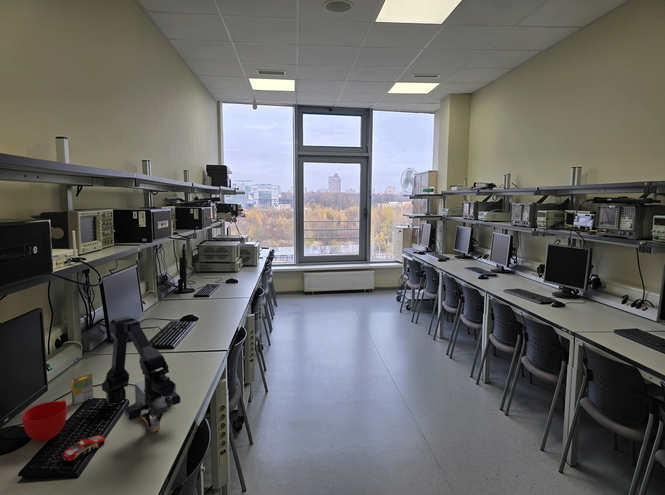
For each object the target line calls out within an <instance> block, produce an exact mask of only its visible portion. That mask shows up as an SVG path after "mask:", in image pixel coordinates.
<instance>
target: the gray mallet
mask: <svg viewBox="0 0 665 495" xmlns="http://www.w3.org/2000/svg"><path fill="white" fill-rule="evenodd" d="M141 418H142V419H143V421H144V423H145V424H146V425H147V429H148V430H149V431H150V432H151V433H155V432H158V431H160V429H161V428H160V427H161V425H160V423H161V420H160V421H159V420H158V418H157V416H156V415H154V416H152V415H150V422H151V427H150V428H149V426H148V424H147V422H146V420H145V418H144V417H141Z"/></svg>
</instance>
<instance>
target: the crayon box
mask: <svg viewBox="0 0 665 495" xmlns="http://www.w3.org/2000/svg"><path fill="white" fill-rule="evenodd" d="M93 382H94V380H93V373H89V374H85V375H82V376H78V377H75V378H73V380H70V384H71V385H70V386H71V400H72V404H74V406H75V405H77V404H82V403H84V402H87V401H89V400H88V399H90V400H93V399H94V386H93V385H94V384H93ZM86 400H87V401H86Z"/></svg>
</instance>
